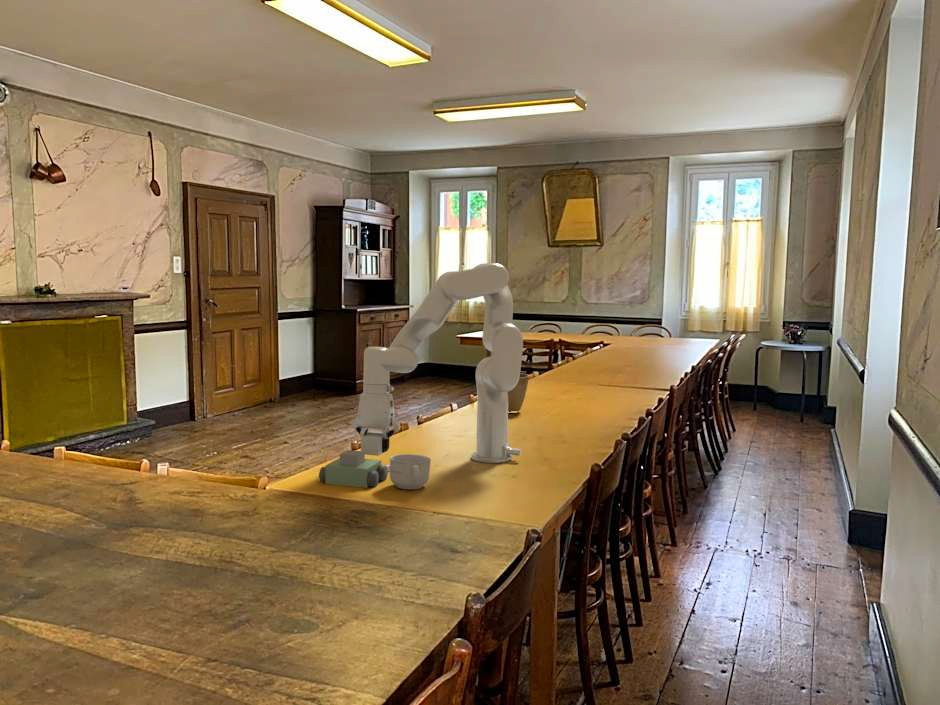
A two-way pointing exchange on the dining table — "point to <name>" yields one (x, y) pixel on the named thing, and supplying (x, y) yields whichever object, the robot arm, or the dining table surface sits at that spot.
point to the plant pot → (518, 393)
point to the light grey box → (372, 443)
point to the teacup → (409, 470)
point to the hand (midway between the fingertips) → (375, 449)
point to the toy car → (354, 470)
